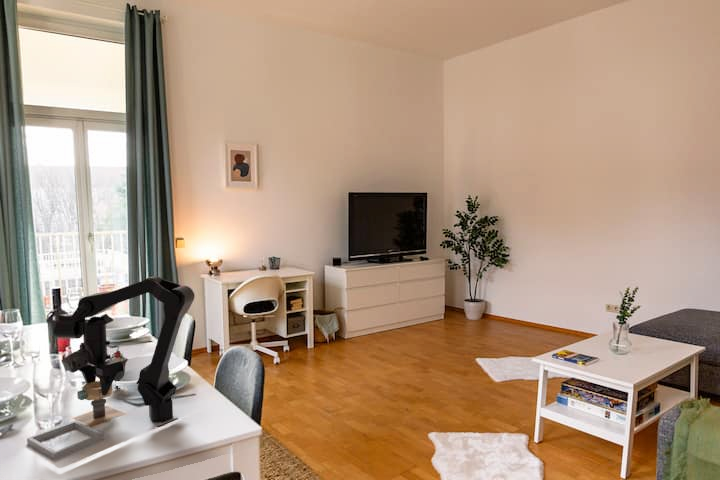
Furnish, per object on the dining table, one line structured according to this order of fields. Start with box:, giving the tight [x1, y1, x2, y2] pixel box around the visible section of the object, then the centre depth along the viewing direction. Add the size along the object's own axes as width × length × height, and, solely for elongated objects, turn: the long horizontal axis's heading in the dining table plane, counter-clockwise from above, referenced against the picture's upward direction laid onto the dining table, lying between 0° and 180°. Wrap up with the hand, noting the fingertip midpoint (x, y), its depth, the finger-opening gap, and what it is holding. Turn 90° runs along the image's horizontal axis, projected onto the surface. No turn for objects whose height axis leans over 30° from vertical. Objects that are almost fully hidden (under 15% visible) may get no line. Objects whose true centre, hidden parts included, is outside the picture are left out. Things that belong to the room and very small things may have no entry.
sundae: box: [106, 346, 129, 390], centre depth 163 cm, size 7×7×15 cm
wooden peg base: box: [72, 398, 127, 428], centre depth 143 cm, size 10×10×5 cm
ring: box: [76, 380, 113, 401], centre depth 141 cm, size 7×9×3 cm
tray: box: [26, 420, 105, 461], centre depth 127 cm, size 14×12×2 cm
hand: (97, 392), depth 142 cm, fingers closed on ring, 7 cm apart
